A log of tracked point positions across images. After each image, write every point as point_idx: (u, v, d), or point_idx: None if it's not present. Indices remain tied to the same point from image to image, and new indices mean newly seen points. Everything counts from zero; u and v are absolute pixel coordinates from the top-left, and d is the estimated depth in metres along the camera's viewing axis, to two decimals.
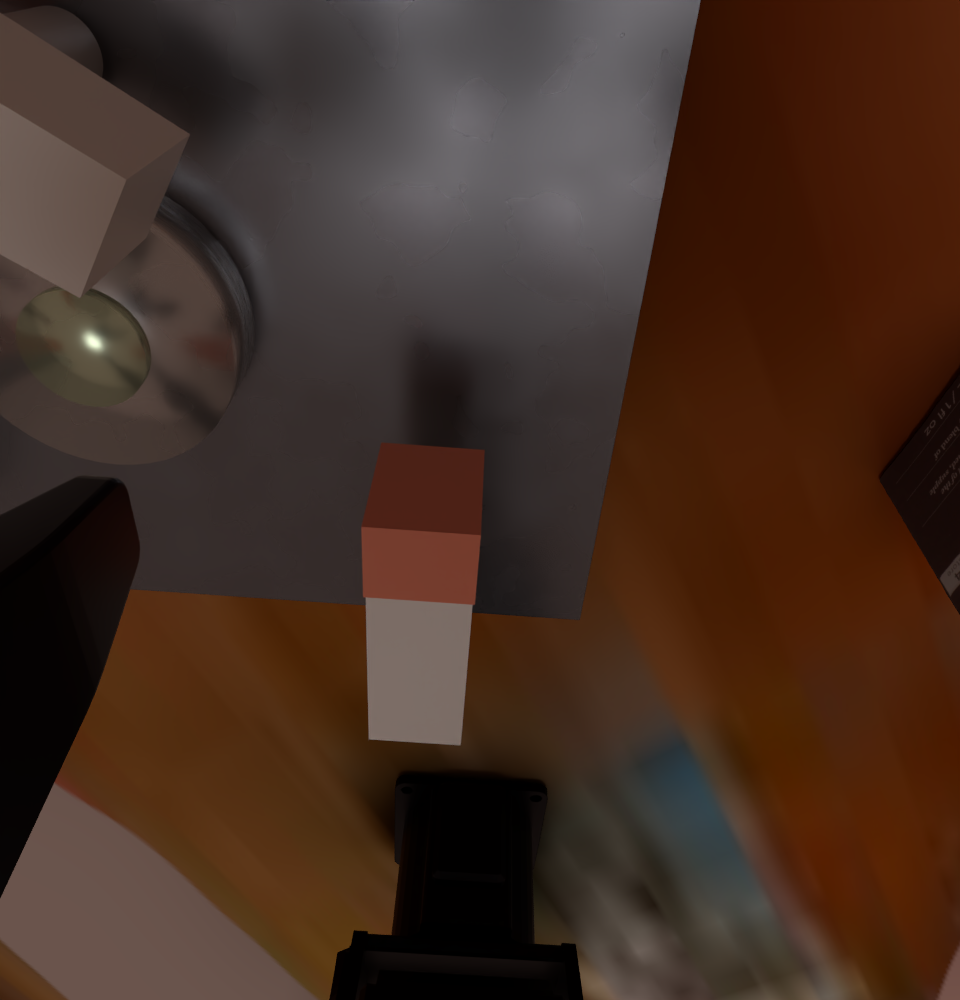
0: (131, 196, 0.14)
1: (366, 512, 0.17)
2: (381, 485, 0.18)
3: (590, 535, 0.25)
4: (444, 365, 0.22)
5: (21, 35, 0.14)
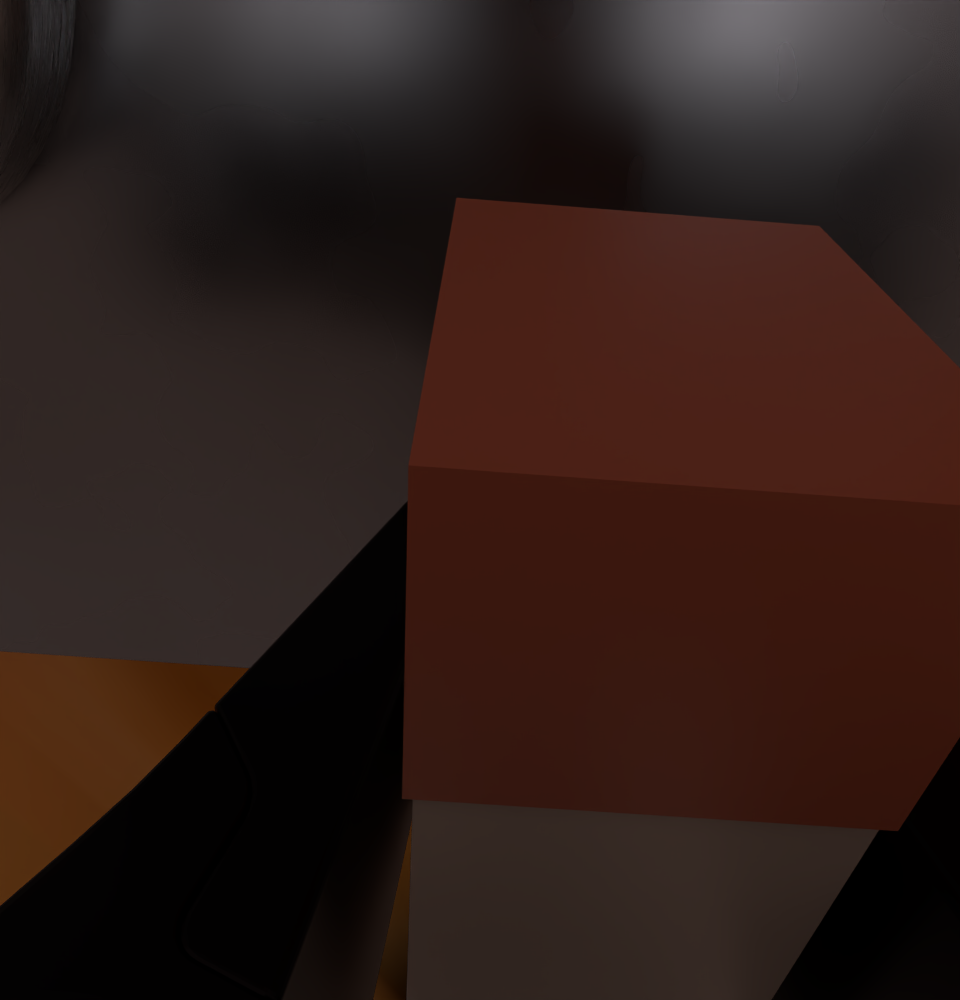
0: None
1: (430, 397, 0.03)
2: (483, 300, 0.04)
3: None
4: (610, 59, 0.08)
5: None
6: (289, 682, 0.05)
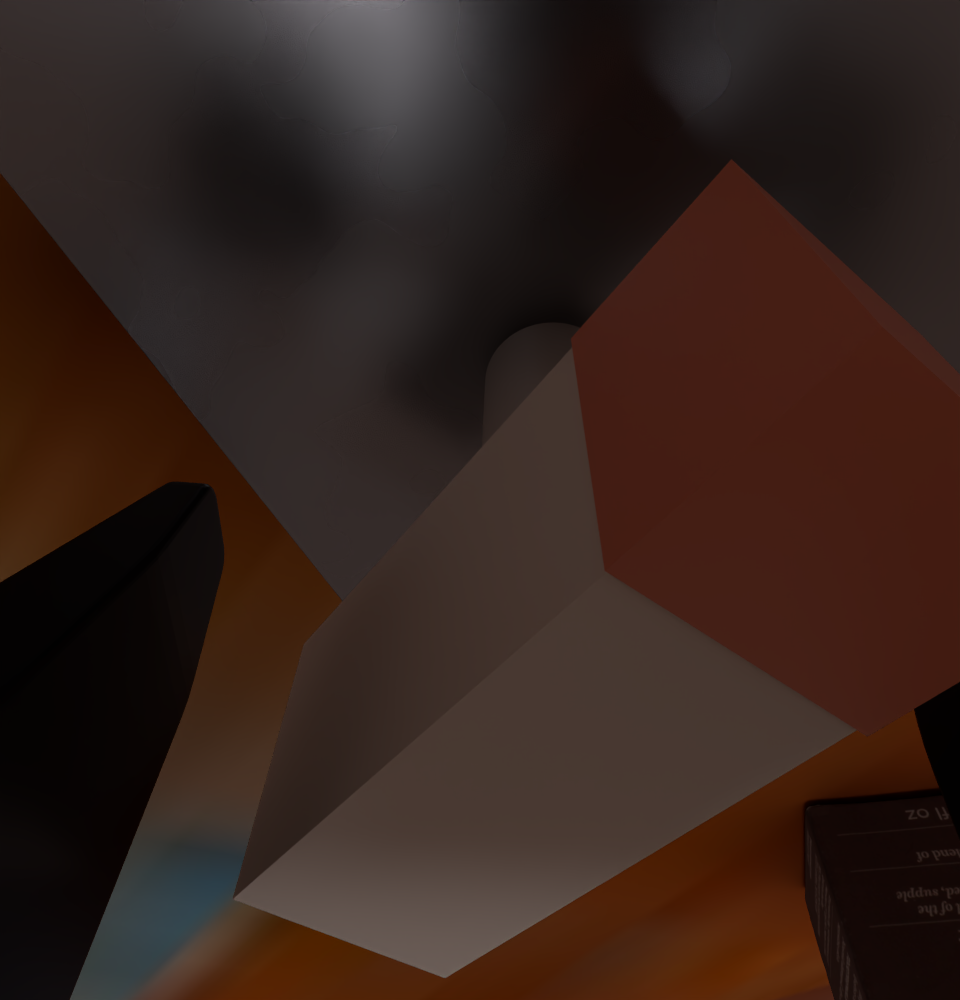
0: None
1: (852, 292, 0.04)
2: (817, 247, 0.05)
3: None
4: (848, 250, 0.10)
5: None
6: None
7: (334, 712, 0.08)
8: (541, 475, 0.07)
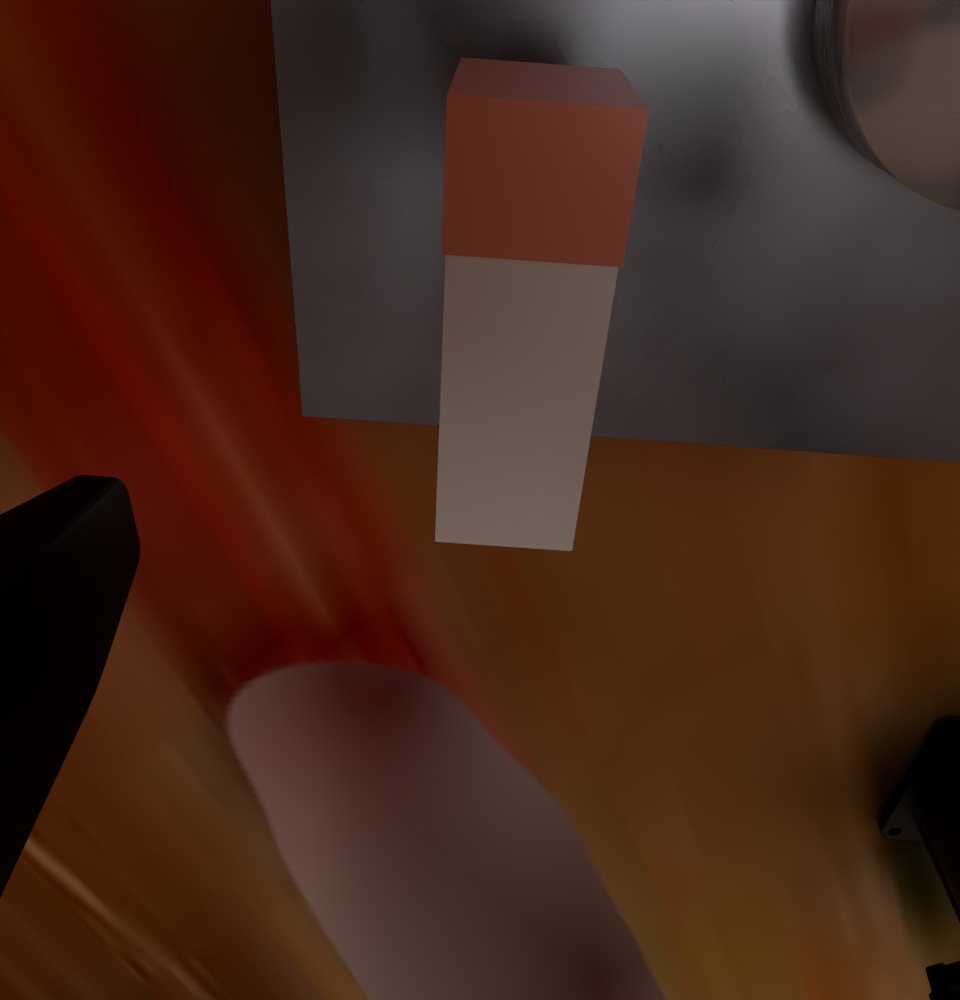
0: None
1: None
2: None
3: None
4: None
5: None
6: None
7: None
8: None
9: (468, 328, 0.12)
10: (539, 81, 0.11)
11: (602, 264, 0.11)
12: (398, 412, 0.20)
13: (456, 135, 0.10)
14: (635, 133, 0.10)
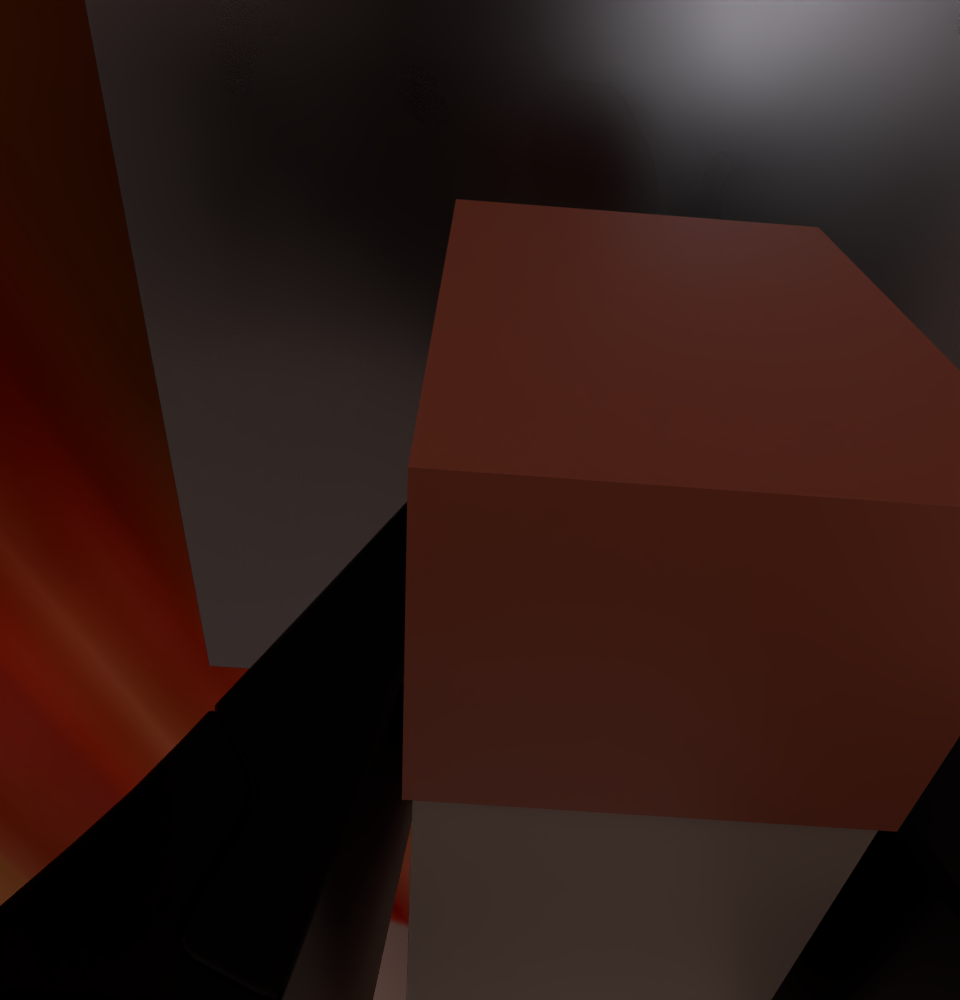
0: None
1: None
2: None
3: None
4: None
5: None
6: (289, 682, 0.05)
7: None
8: None
9: (473, 904, 0.05)
10: (670, 318, 0.04)
11: (840, 818, 0.04)
12: None
13: (441, 569, 0.03)
14: None
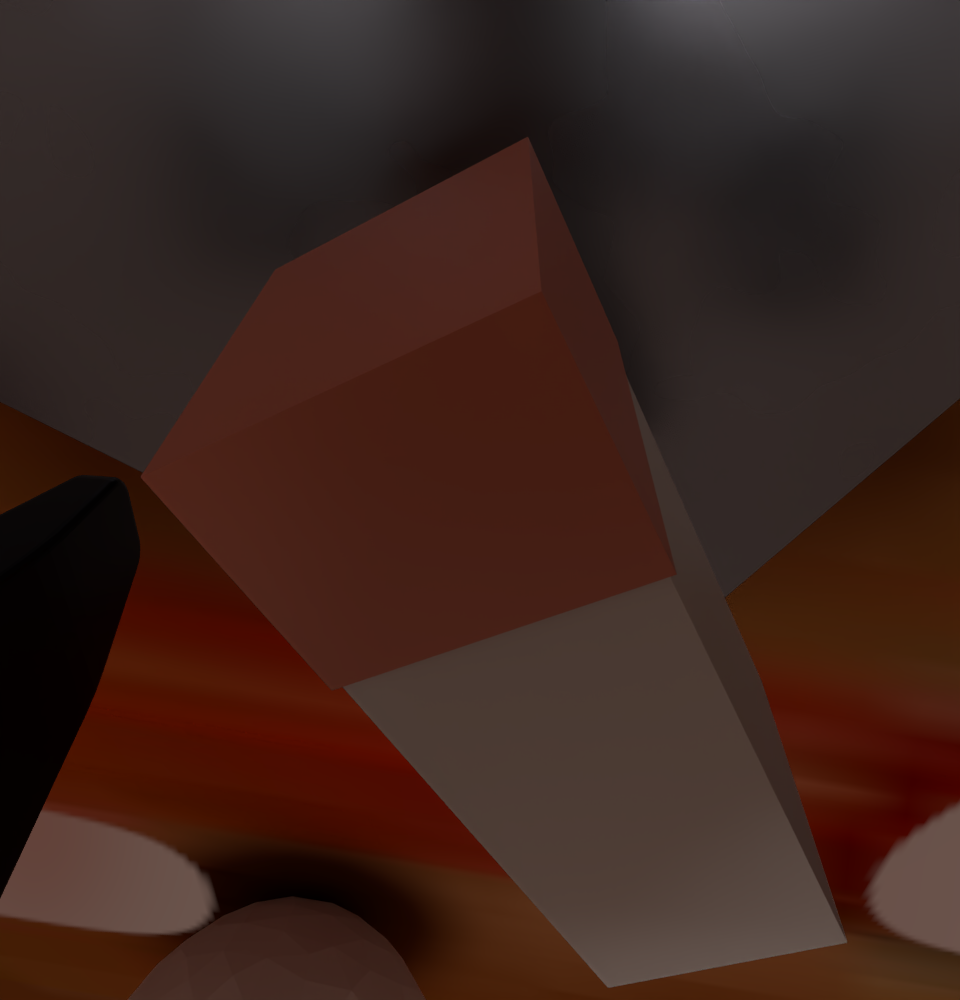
0: None
1: None
2: None
3: None
4: None
5: None
6: None
7: None
8: None
9: (458, 756, 0.06)
10: (356, 288, 0.05)
11: (632, 581, 0.05)
12: None
13: (210, 526, 0.05)
14: (544, 350, 0.04)
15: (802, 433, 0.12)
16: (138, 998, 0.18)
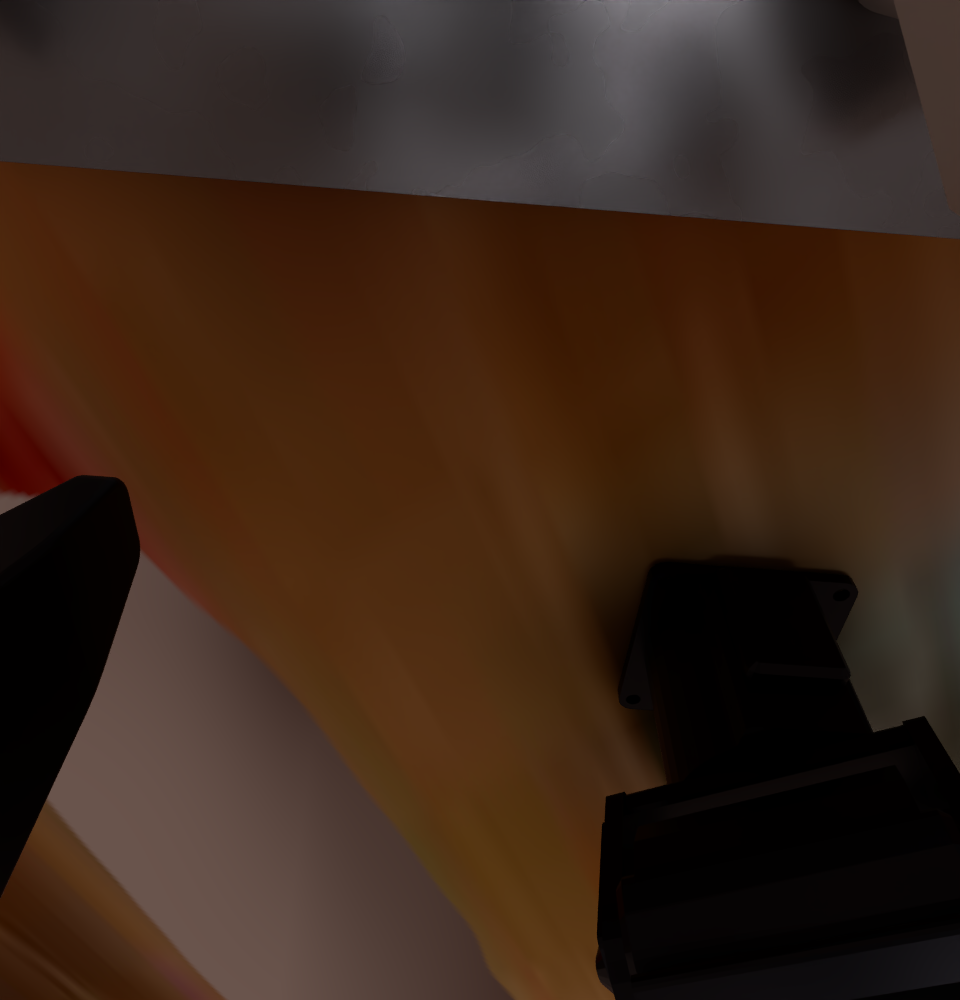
0: None
1: None
2: None
3: None
4: None
5: None
6: None
7: None
8: None
9: None
10: None
11: None
12: None
13: None
14: None
15: (82, 99, 0.17)
16: None
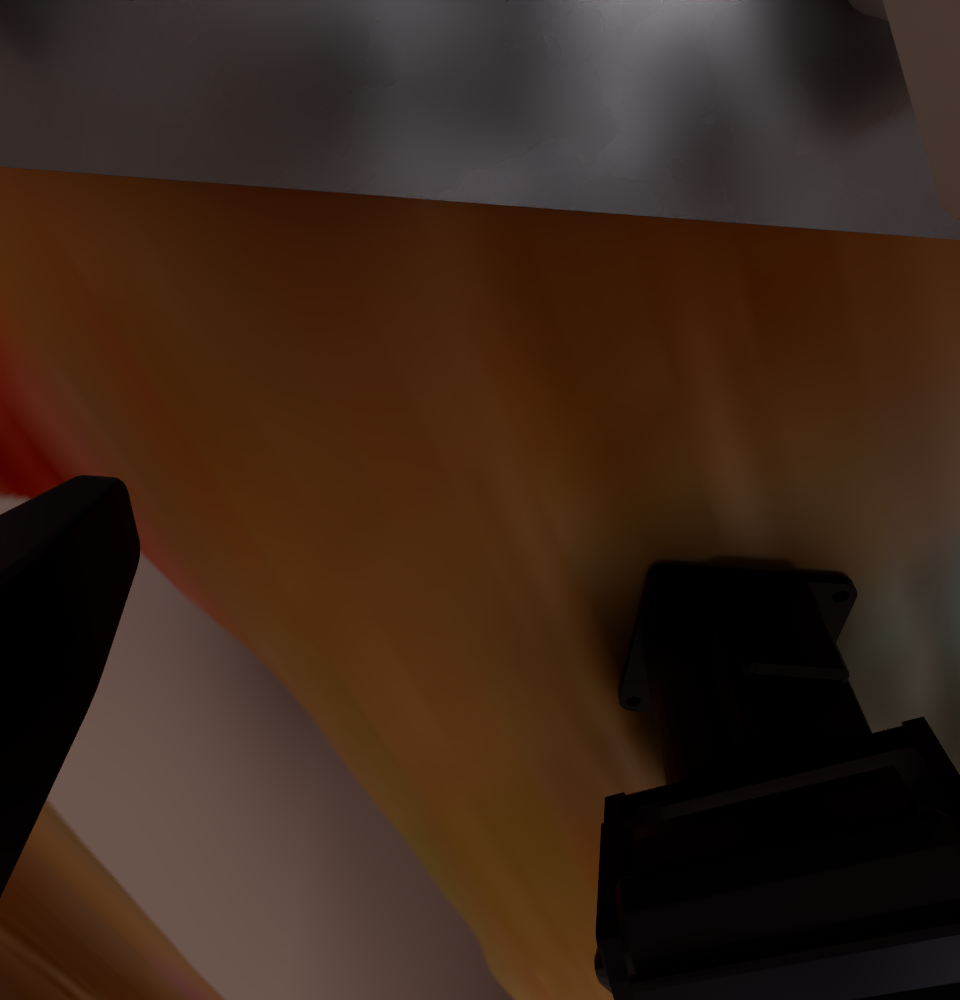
0: None
1: None
2: None
3: None
4: None
5: None
6: None
7: None
8: None
9: None
10: None
11: None
12: None
13: None
14: None
15: (81, 105, 0.17)
16: None
